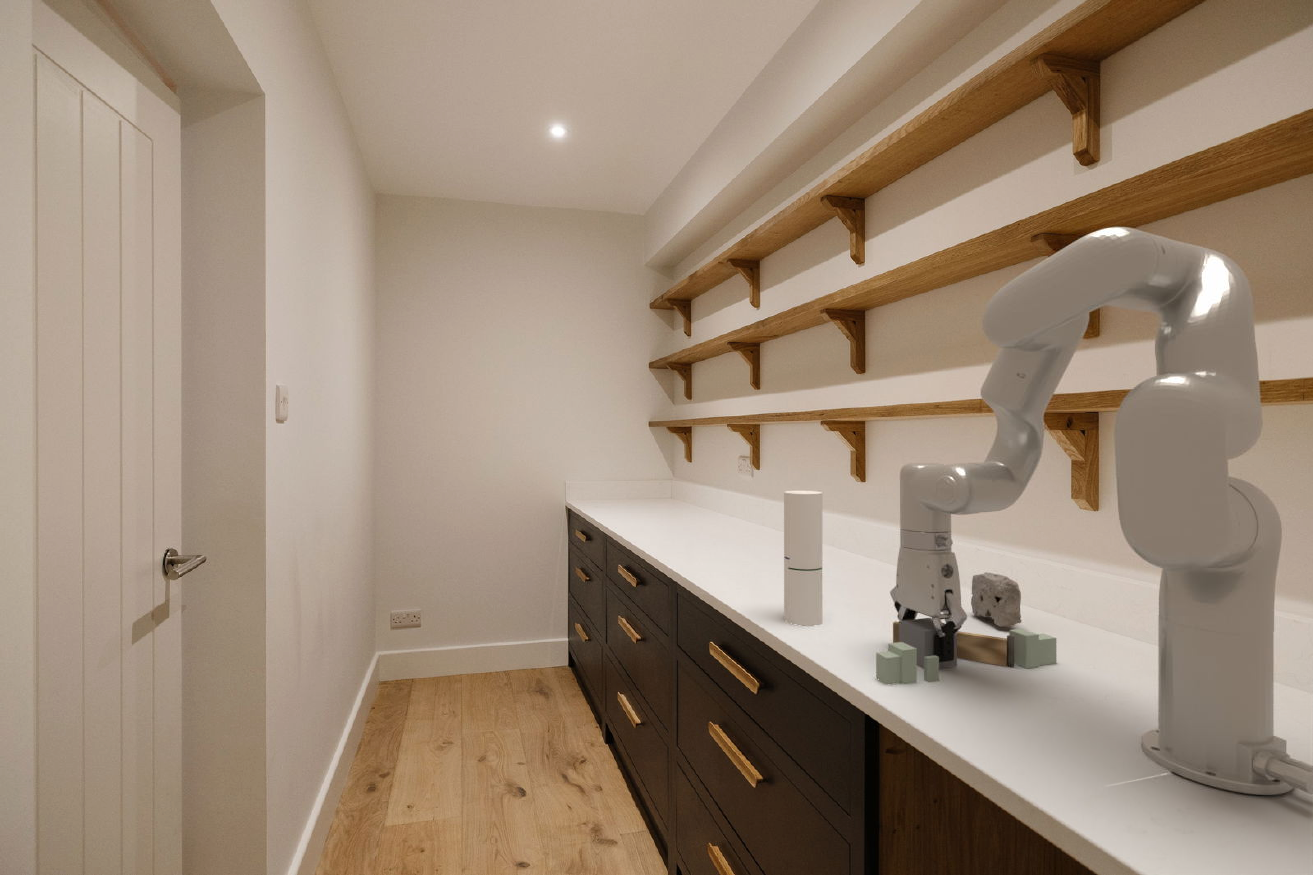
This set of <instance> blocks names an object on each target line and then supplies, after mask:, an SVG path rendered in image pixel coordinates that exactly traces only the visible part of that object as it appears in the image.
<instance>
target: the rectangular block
mask: <svg viewBox="0 0 1313 875" xmlns="http://www.w3.org/2000/svg"><path fill="white" fill-rule="evenodd" d="M898 622H899V642H903V643H905V644H908V645H910V646H912V647H914V648H916V649H917V667H919V668H921V669H923V670H924V657H926V656H934V635H938V634H937V631H936V628H935V626H934V623H933V620H932V617H924V618H915V619H913V620H903V621H900V620H898ZM942 624H943V626H944V625H945V624H946V622H945V623H944V622H942ZM957 666H958V658H957V635H954V660H952V661H945V662H939V669H940V668H949V667H957Z"/></svg>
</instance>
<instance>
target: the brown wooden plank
mask: <svg viewBox="0 0 1313 875" xmlns="http://www.w3.org/2000/svg"><path fill="white" fill-rule="evenodd" d="M897 642H899V621H896V620H895V621H893V622H892V643H897ZM957 659H961V660H967V661H973V662H977V663H978V662H979V663H985V664H991V665H996V666H1002V667H1009V668H1015V664H1014V636H1011V635H1006V637H998V636H992V635H986V634H979V633H973V632H966V631H961V630H958V631H957Z"/></svg>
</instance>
